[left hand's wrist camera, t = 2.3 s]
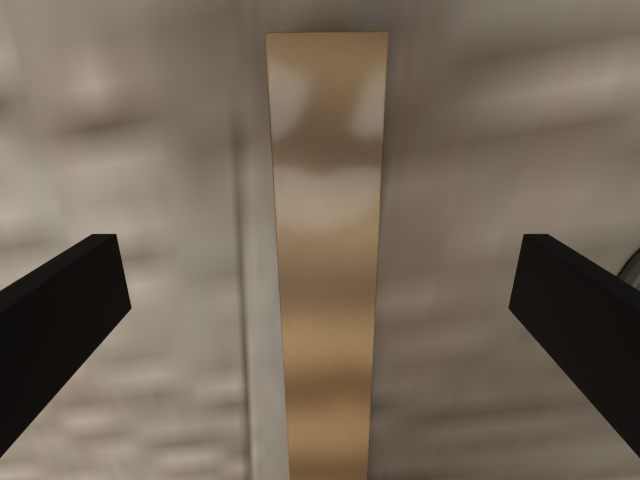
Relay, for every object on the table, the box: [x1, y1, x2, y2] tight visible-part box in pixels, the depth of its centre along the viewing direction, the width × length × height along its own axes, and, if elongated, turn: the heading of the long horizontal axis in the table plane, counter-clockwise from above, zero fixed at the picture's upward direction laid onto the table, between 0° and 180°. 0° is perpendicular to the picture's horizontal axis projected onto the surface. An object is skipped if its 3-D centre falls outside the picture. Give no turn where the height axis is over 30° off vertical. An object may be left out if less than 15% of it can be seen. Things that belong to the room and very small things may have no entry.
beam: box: [265, 31, 389, 480], centre depth 31 cm, size 54×6×9 cm, turn 1°
